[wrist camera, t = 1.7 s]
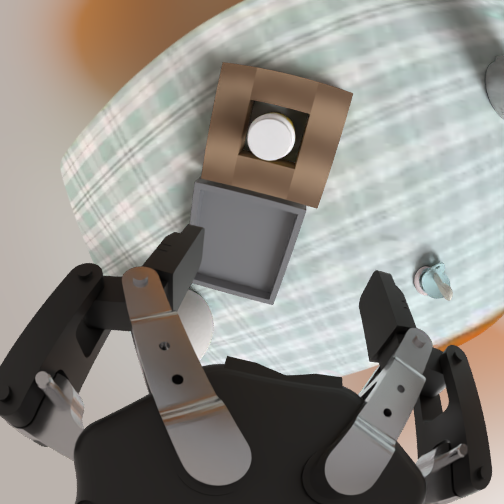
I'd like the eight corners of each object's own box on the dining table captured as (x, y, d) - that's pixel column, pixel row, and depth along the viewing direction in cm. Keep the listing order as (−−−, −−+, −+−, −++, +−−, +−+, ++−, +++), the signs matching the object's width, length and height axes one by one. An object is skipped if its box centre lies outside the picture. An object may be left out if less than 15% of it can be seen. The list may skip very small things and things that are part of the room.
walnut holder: (230, 65, 26) (222, 62, 23) (347, 94, 26) (353, 93, 23) (209, 170, 34) (200, 178, 31) (315, 198, 34) (317, 208, 31)
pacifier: (420, 298, 39) (448, 282, 37) (430, 324, 34) (461, 307, 31) (407, 270, 37) (438, 252, 34) (418, 296, 32) (453, 276, 29)
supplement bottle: (290, 153, 31) (288, 170, 24) (252, 145, 31) (238, 159, 24) (299, 116, 29) (300, 121, 21) (259, 108, 29) (248, 110, 22)
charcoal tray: (201, 176, 34) (194, 182, 32) (305, 202, 34) (306, 210, 32) (189, 271, 43) (184, 280, 41) (274, 294, 43) (273, 304, 41)
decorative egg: (148, 304, 49) (113, 363, 37) (171, 265, 43) (129, 332, 31) (200, 337, 52) (177, 400, 39) (233, 305, 46) (210, 379, 33)
